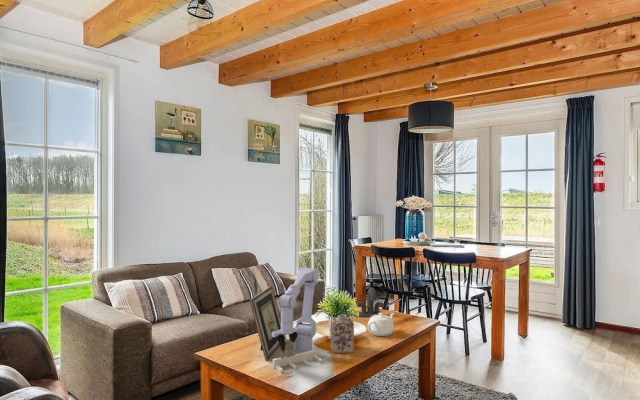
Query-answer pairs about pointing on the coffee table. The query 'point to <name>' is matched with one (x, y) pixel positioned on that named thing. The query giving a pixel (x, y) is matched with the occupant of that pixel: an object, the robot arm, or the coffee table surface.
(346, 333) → the decorative jar
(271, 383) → the coffee table surface
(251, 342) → the coffee table surface
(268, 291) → the picture frame
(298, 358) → the cream pronged rack
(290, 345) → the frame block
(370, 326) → the teapot
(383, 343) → the coffee table surface
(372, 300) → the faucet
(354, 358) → the coffee table surface
